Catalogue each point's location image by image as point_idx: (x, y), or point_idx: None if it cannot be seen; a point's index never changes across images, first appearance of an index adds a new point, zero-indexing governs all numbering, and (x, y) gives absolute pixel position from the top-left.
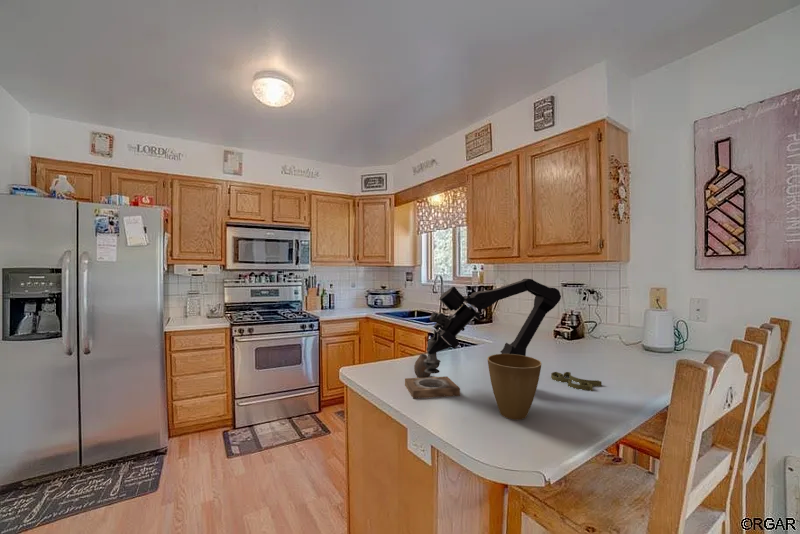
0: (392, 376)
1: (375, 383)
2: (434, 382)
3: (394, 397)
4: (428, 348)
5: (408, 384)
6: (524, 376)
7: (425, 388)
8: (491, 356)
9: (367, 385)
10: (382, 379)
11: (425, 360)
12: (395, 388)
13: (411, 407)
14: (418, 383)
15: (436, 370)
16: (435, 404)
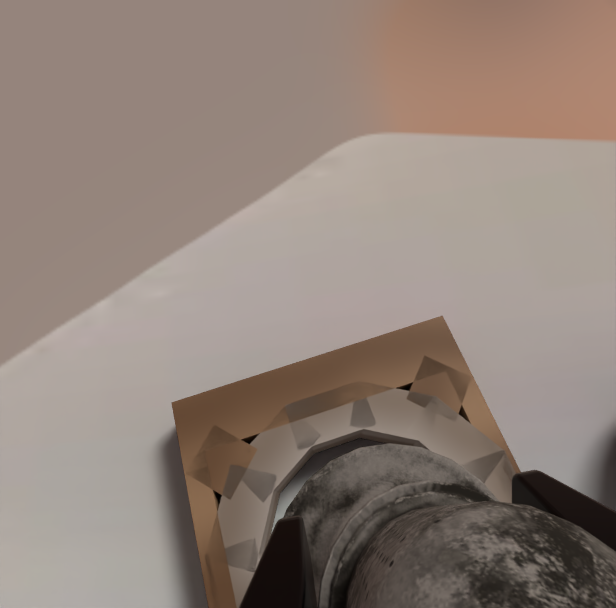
0: (593, 236)
1: (419, 173)
2: None
3: (203, 302)
4: (394, 521)
5: (324, 355)
6: None
7: (226, 497)
8: None
9: (374, 146)
10: (505, 193)
11: (369, 471)
12: (358, 287)
13: (44, 416)
14: (342, 429)
15: None
16: (80, 586)
